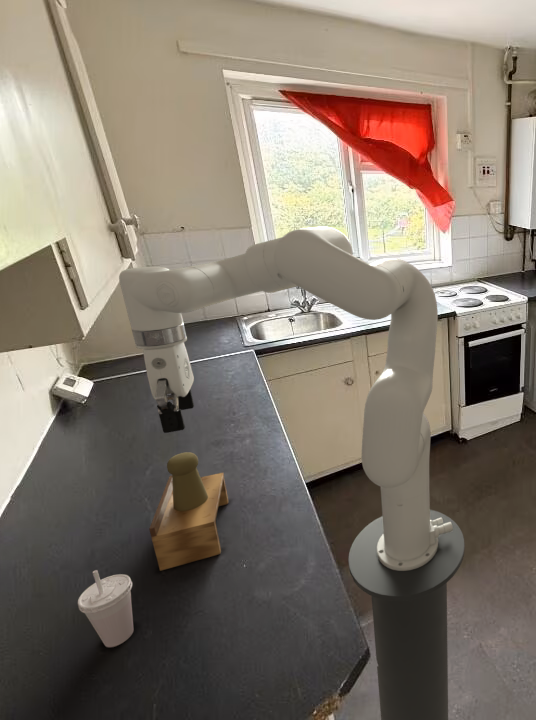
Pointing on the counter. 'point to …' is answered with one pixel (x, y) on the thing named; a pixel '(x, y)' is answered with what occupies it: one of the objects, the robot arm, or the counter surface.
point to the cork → (186, 482)
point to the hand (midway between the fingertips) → (179, 419)
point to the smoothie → (109, 608)
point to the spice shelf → (188, 526)
